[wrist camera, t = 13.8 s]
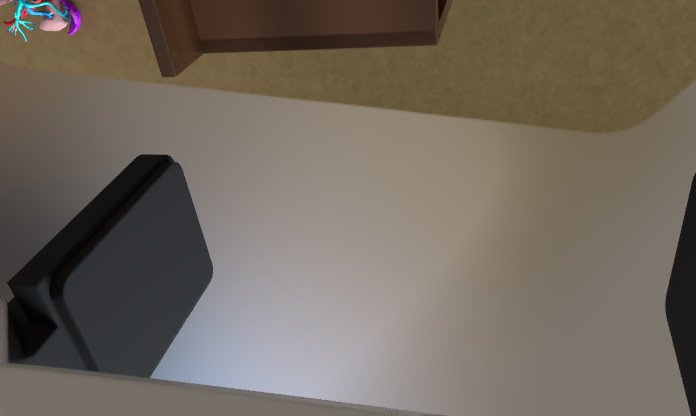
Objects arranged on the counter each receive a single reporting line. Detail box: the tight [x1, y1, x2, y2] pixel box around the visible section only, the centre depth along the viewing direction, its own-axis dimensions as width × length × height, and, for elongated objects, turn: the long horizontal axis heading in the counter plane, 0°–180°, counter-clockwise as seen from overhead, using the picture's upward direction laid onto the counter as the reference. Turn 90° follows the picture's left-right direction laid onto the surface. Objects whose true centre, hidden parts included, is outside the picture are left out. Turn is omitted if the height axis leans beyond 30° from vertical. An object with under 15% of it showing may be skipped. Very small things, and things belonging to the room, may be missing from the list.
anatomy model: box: [0, 0, 81, 41], centre depth 50 cm, size 5×8×7 cm
